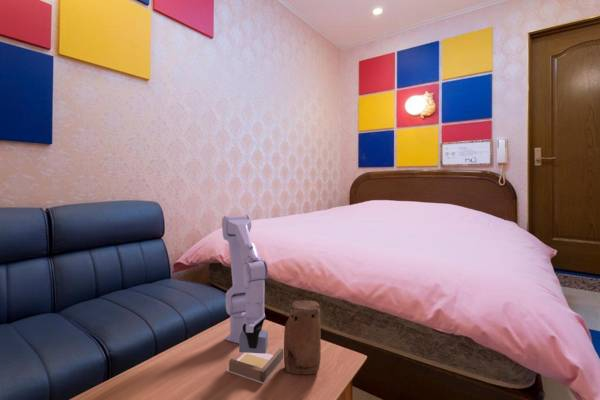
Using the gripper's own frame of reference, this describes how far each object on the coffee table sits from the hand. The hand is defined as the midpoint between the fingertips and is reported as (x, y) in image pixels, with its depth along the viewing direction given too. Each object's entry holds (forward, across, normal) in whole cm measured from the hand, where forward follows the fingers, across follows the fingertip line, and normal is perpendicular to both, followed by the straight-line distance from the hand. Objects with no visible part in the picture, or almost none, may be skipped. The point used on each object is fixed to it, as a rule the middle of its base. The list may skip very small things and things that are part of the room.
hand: (254, 343), depth 89 cm
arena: (+6, +1, +1) cm, 6 cm away
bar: (+2, 0, 0) cm, 2 cm away
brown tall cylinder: (+7, +1, +15) cm, 16 cm away
